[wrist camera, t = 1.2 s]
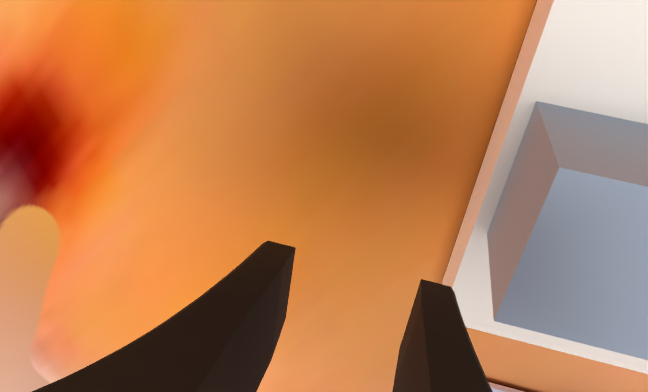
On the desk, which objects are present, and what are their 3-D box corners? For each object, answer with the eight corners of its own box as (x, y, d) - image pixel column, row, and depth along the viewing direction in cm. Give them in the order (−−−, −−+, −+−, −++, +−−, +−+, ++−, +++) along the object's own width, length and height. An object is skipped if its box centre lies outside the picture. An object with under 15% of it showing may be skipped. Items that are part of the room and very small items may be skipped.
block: (632, 267, 18) (678, 368, 14) (487, 232, 19) (493, 321, 15) (708, 136, 16) (787, 218, 12) (535, 100, 16) (559, 167, 12)
